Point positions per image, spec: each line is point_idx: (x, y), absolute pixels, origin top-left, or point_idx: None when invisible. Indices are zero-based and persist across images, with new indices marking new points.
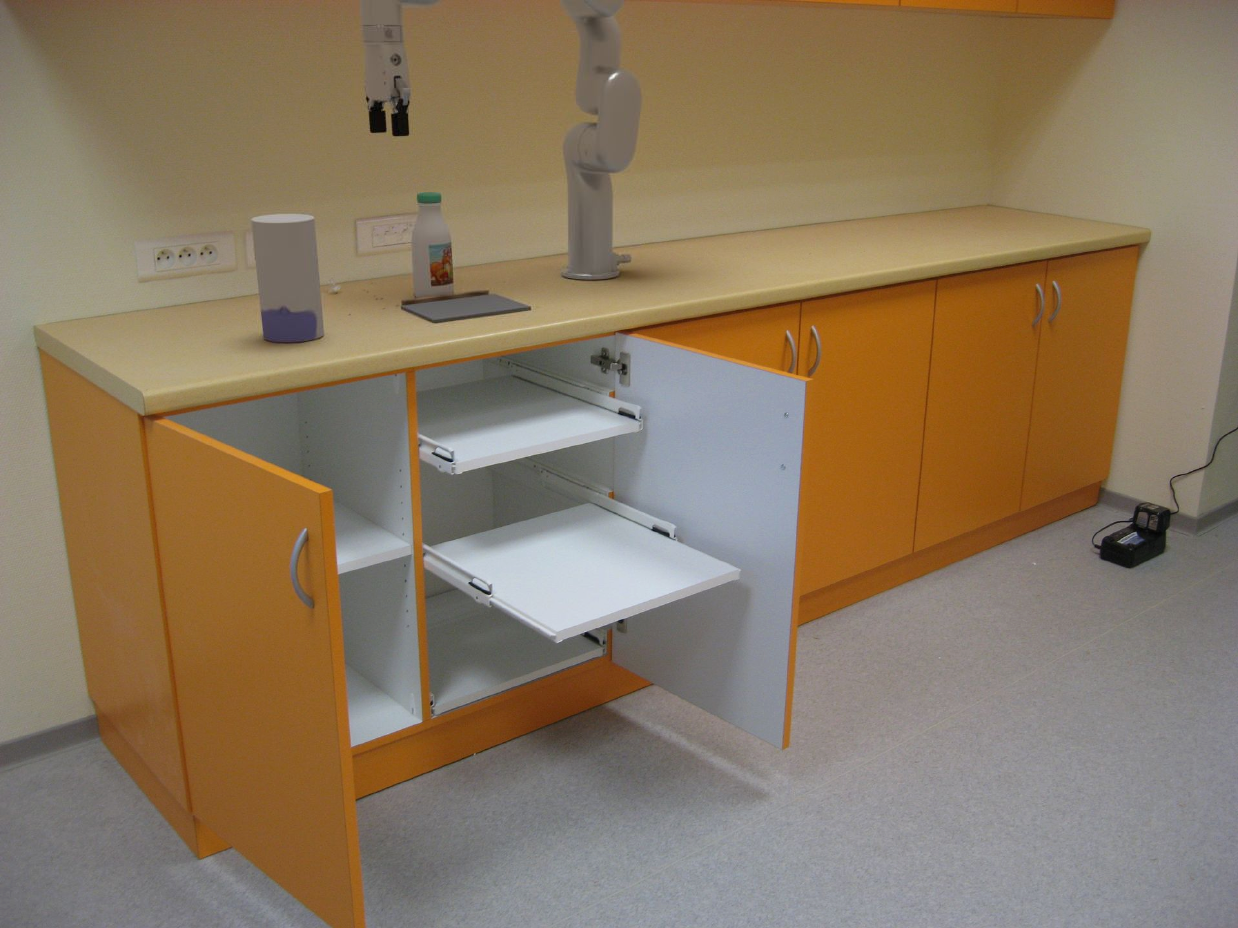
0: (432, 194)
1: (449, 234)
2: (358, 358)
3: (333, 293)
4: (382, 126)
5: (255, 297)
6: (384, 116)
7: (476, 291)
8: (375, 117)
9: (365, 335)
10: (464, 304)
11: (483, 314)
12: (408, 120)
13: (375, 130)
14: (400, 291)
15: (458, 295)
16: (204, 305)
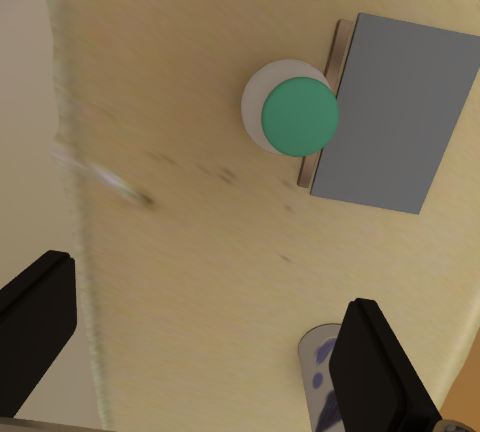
0: (330, 127)
1: (325, 78)
2: (461, 352)
3: (145, 202)
4: (55, 293)
5: (107, 286)
6: (14, 322)
7: (340, 46)
8: (22, 373)
9: (390, 301)
10: (381, 117)
11: (450, 135)
12: (409, 361)
13: (70, 319)
14: (198, 117)
15: (333, 89)
16: (117, 343)
